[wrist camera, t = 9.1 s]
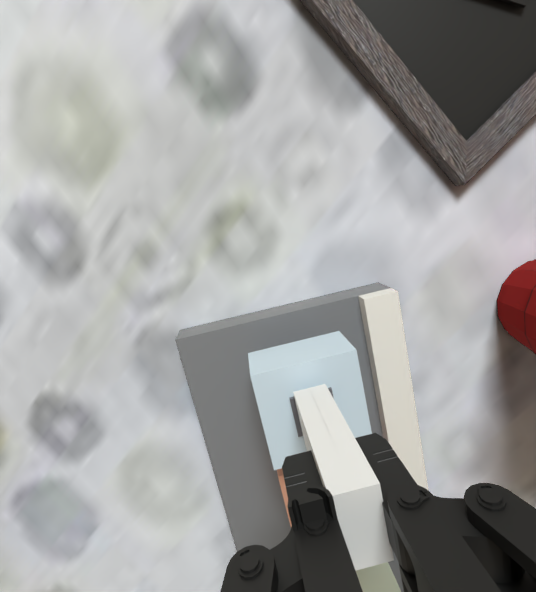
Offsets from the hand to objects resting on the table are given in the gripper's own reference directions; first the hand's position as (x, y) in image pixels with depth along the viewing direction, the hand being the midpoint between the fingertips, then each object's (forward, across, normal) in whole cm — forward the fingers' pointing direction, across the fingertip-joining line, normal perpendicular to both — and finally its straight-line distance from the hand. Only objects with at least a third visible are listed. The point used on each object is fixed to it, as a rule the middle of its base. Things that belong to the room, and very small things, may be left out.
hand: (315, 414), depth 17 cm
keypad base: (+8, 0, +11) cm, 13 cm away
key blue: (+4, 0, 0) cm, 4 cm away
